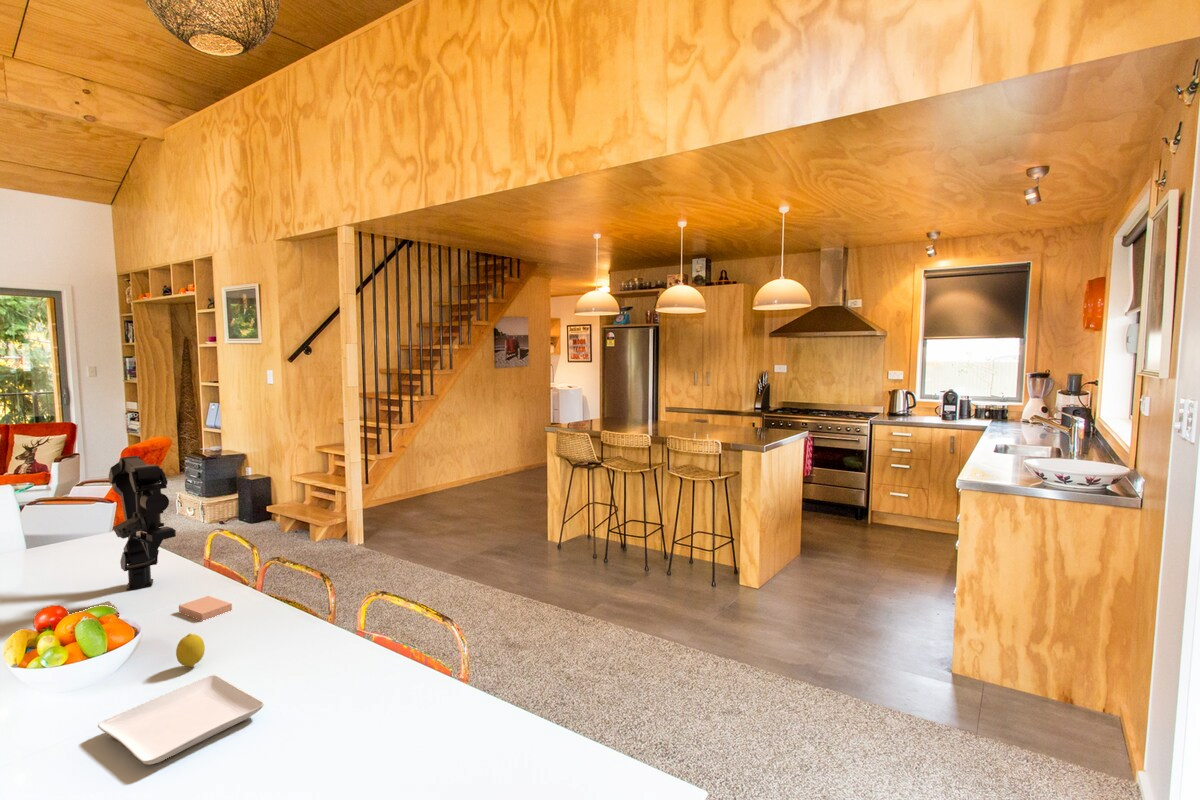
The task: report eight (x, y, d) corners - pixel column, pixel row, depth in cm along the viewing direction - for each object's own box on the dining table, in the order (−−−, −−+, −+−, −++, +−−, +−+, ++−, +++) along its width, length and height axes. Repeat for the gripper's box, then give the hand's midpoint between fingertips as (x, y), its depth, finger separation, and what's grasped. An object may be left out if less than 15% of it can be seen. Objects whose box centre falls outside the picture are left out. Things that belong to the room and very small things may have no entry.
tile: (178, 605, 172) (202, 613, 167) (208, 595, 179) (231, 603, 174) (179, 614, 173) (202, 622, 167) (208, 604, 180) (232, 612, 174)
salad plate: (145, 780, 104) (144, 761, 104) (95, 739, 116) (94, 721, 115) (267, 718, 122) (267, 701, 122) (214, 688, 134) (213, 673, 133)
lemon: (210, 664, 143) (209, 631, 143) (186, 675, 138) (184, 641, 138) (196, 659, 146) (194, 626, 145) (171, 670, 141) (169, 636, 140)
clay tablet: (121, 617, 171) (120, 607, 171) (75, 630, 163) (74, 620, 162) (103, 605, 179) (103, 596, 179) (59, 617, 171) (58, 607, 171)
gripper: (101, 509, 180) (104, 561, 181) (131, 517, 170) (134, 571, 171) (145, 501, 189) (147, 550, 190) (175, 509, 180) (178, 560, 181)
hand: (151, 558), depth 183 cm, fingers closed
